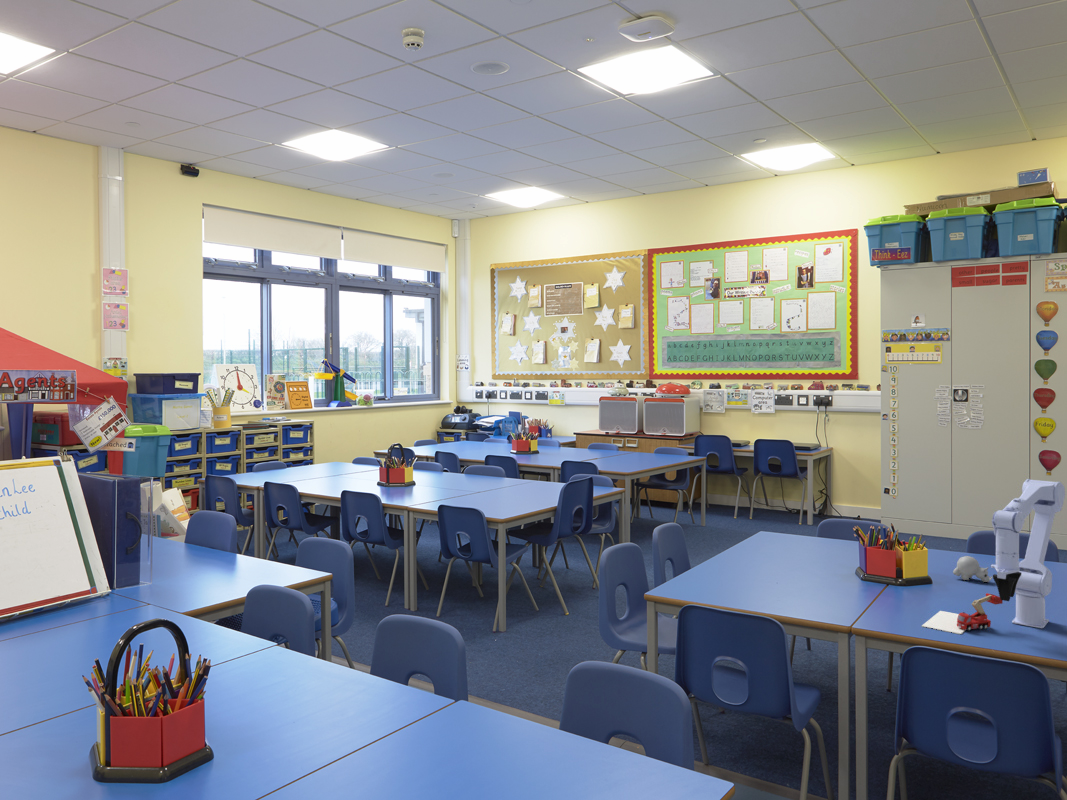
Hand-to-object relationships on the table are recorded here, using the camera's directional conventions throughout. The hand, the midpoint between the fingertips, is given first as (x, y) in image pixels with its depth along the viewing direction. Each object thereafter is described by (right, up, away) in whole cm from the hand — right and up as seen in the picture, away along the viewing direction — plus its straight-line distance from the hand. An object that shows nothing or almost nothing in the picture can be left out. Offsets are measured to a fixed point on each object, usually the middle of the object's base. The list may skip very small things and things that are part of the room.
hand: (1007, 598), depth 218 cm
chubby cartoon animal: (+23, -9, +56) cm, 61 cm away
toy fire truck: (-5, -10, +6) cm, 13 cm away
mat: (-11, -10, +11) cm, 18 cm away
